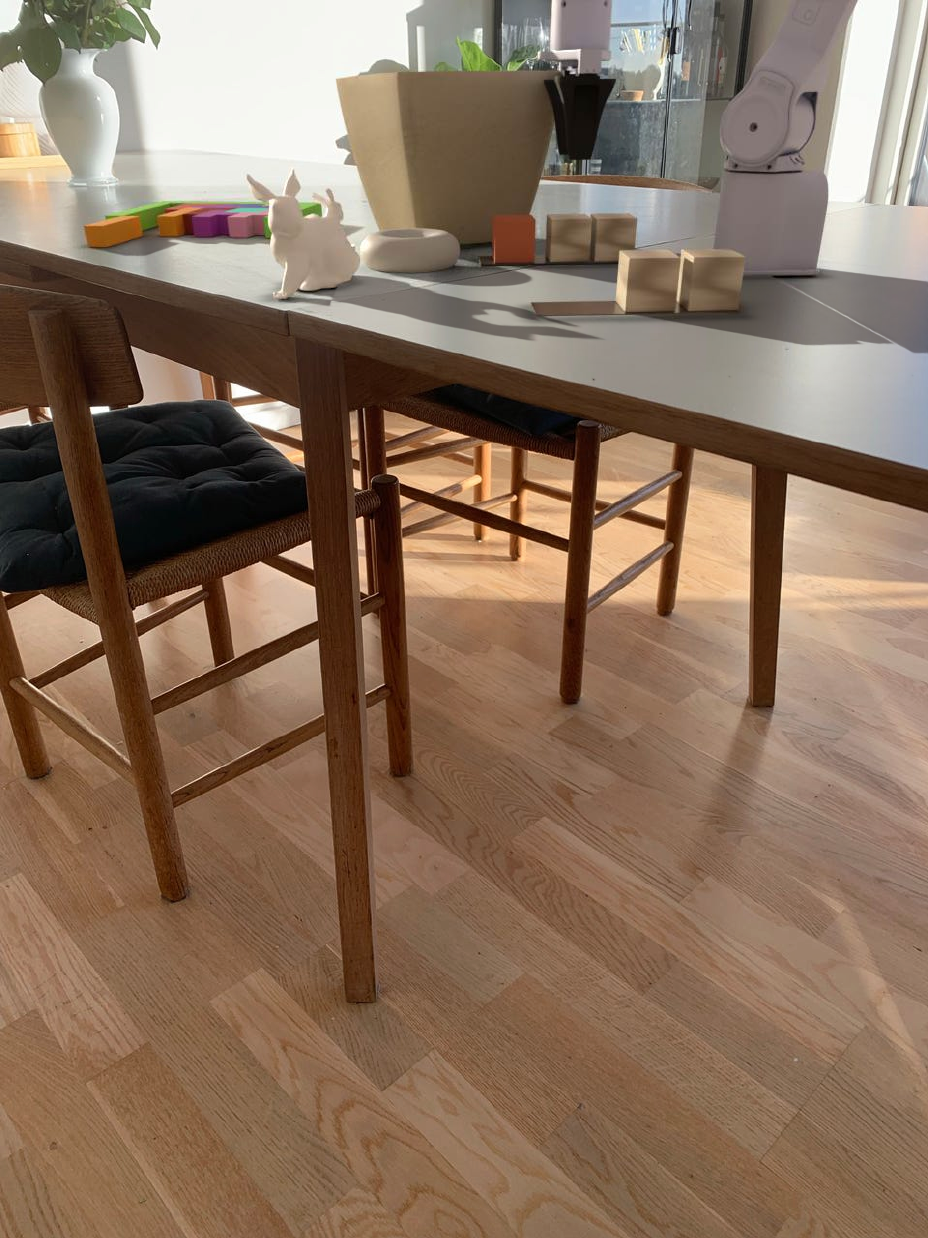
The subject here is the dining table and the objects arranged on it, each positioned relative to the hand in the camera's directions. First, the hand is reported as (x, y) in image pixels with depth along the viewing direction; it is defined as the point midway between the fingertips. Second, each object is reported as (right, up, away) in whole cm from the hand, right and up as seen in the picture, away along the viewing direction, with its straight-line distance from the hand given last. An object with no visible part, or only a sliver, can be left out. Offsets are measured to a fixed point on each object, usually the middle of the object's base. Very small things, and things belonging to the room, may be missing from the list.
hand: (574, 156), depth 93 cm
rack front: (+2, -23, -20) cm, 30 cm away
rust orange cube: (-6, -10, 0) cm, 12 cm away
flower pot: (-13, -3, +14) cm, 19 cm away
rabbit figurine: (-26, -17, -9) cm, 32 cm away
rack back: (-2, -11, 0) cm, 11 cm away
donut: (-17, -12, -2) cm, 21 cm away
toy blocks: (-44, +1, +22) cm, 49 cm away
